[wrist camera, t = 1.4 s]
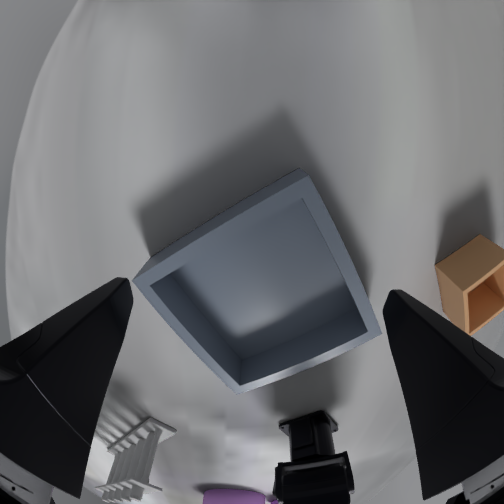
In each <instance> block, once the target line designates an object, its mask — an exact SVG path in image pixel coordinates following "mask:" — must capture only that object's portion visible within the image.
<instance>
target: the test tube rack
mask: <svg viewBox="0 0 504 504" xmlns="http://www.w3.org/2000/svg"><path fill="white" fill-rule="evenodd" d="M176 431H177V430H175V429H173V428H171V427H169V426H167V425H165V424H163V423H161V422H159V421H157V420H155V419H153V418H151V417H150V418H149V419H148V420H146V421H145V422H144V423H143V424H141V425H140V426H139V427H137V428H136V429H135V430H133V431H132V432H131V433H129V434H128V435H127V436H125V437H124V438H123V439H121V440H120V441H119V442H117V443H116V444H114V445H113V446H112V447H110V448H109V449H108V451H107V452H109V453H111V454H113V455H115V459H114V462H113V465H112V468H111V471H110V474H109V477H108V480H107V483H106V485H102V486H97V487H95V489H97V490H99V491H101V492H103V496H102V500H103V501H106V502H108V503H109V502H110V501H112V502H114V503H115V502H116V501H119V502H123V500H125V501H127V502H131V500H132V499H133V500H135V501H141V499H142V495H143V494H147V493H154V492H159V491H162V488H159V487H156V486H154V485H151V484H149V475H150V472H151V468H152V464H153V460H154V456H155V453H156V449H157V445H158V443H160V442H162V441H164V440H165V439H167V438H169V437H171V436H172V435H174V434H176Z"/></svg>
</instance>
